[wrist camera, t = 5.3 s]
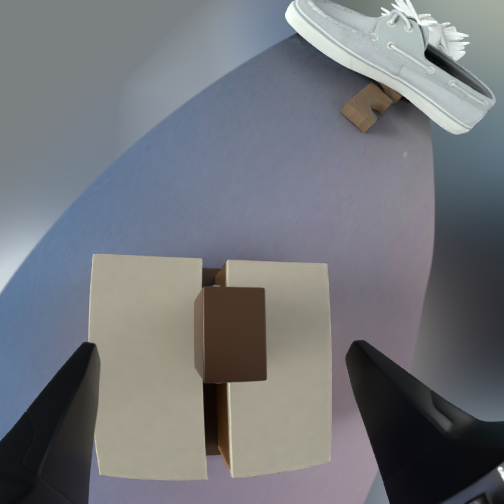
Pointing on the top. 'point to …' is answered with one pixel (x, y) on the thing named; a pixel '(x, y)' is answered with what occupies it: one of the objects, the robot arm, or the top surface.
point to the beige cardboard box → (189, 381)
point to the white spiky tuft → (435, 31)
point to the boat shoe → (395, 60)
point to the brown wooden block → (230, 334)
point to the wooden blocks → (369, 105)
